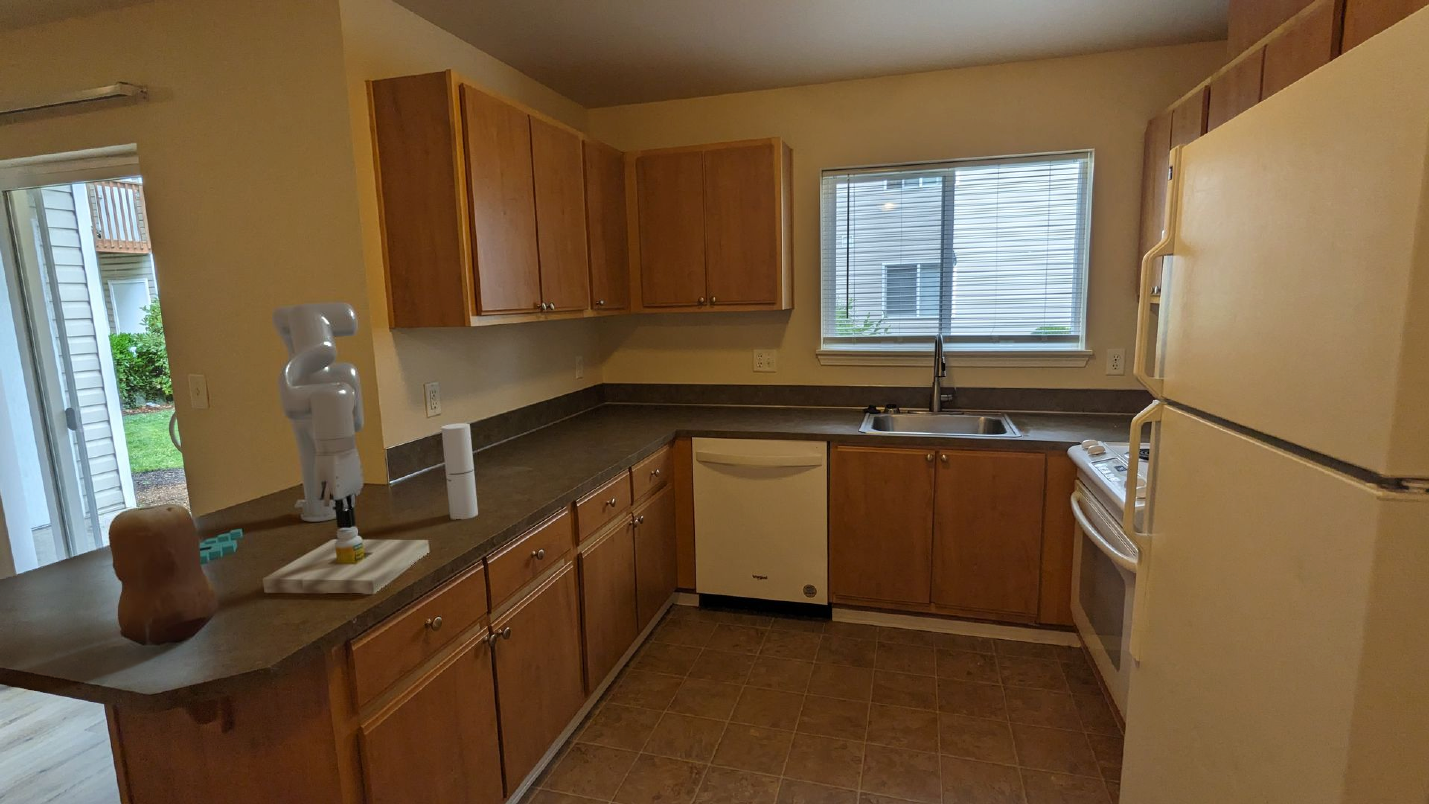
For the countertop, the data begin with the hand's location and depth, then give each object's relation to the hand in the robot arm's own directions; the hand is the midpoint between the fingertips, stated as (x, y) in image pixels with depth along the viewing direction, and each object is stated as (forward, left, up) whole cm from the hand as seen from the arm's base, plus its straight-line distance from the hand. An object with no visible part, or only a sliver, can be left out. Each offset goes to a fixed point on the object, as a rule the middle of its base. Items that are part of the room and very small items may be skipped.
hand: (346, 526), depth 146 cm
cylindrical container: (+8, +37, -11) cm, 39 cm away
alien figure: (-47, +7, -11) cm, 49 cm away
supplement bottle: (0, 0, -11) cm, 11 cm away
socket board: (0, 0, -10) cm, 10 cm away
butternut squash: (-14, -30, -11) cm, 35 cm away
